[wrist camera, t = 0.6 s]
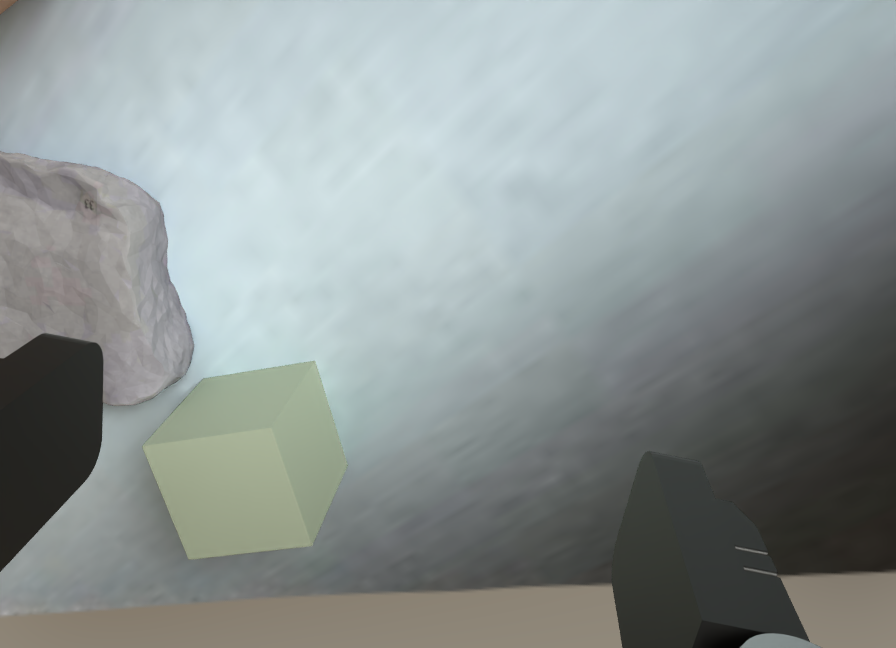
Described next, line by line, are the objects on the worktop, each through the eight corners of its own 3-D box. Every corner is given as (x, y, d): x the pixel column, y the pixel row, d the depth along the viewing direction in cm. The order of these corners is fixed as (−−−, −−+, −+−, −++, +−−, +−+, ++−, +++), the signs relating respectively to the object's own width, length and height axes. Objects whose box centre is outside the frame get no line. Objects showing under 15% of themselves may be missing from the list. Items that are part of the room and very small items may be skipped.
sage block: (315, 359, 33) (271, 427, 28) (348, 464, 35) (312, 546, 30) (203, 378, 34) (141, 446, 29) (241, 478, 36) (188, 559, 31)
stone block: (-88, 151, 34) (-52, 384, 36) (-188, 148, 29) (-140, 416, 31) (186, 139, 33) (209, 381, 34) (128, 134, 28) (158, 415, 30)
